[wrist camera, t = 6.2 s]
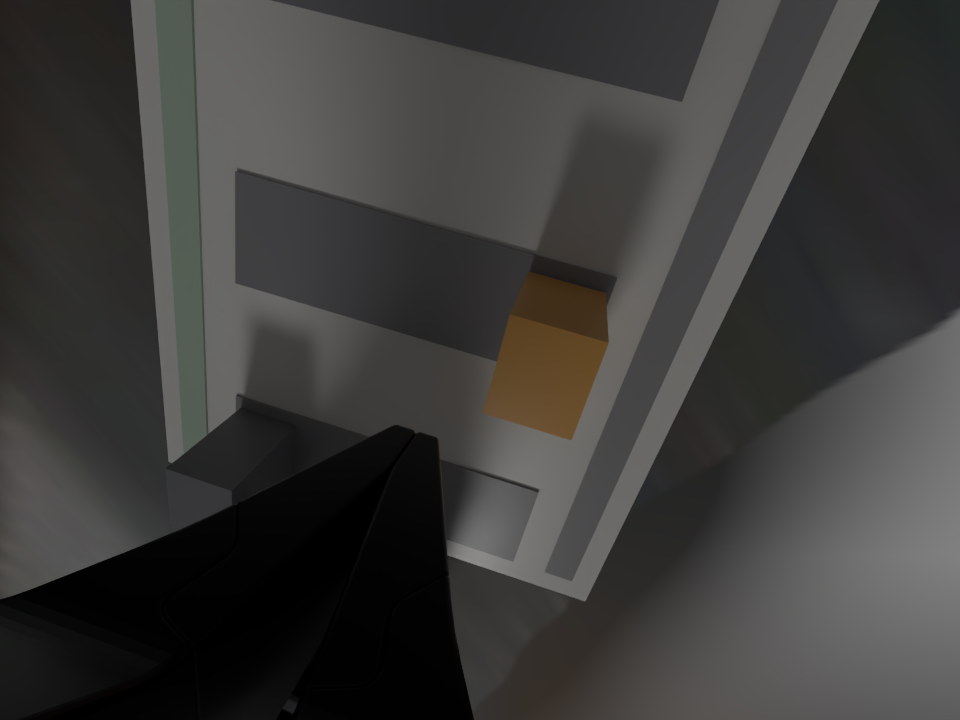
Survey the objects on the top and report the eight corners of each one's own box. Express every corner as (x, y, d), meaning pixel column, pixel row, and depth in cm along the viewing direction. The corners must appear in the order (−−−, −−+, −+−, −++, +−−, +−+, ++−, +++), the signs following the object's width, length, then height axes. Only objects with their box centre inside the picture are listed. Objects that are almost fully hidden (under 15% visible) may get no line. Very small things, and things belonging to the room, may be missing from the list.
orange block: (576, 374, 17) (571, 440, 14) (505, 353, 17) (482, 413, 14) (606, 293, 16) (608, 343, 12) (528, 271, 16) (510, 314, 12)
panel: (585, 565, 24) (582, 702, 18) (198, 437, 25) (86, 527, 20) (886, -80, 13) (1113, -235, 7) (168, -231, 14) (-103, -453, 9)
